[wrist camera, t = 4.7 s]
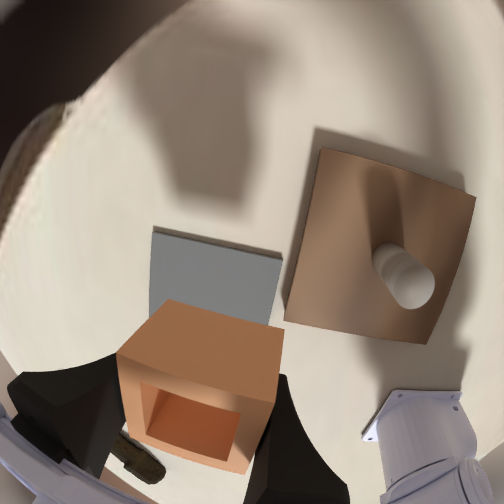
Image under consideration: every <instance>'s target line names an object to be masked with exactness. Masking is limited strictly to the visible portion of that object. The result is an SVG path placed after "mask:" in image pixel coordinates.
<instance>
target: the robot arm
mask: <svg viewBox="0 0 504 504" xmlns="http://www.w3.org/2000/svg"><path fill="white" fill-rule="evenodd" d="M7 390H8V393H9V396H10V398H11V400H12V402H13V404H14V406H15V408H16V410H17V411H18V414H17V415H16V416H15V417H14V418H12V417H11V416H10V415H8V414H7V413H6V410H5V408H4V406H3V405H2V403H1V402H0V463H2V465H3V466H4V467H5V468H6V469H7V470H9V472H11V473H12V474H13V475H14V476H15V477H16V478H17V479H18V480H19V481H20V482H21V483H23V484H24V485H25V486H26V487H27V488H28V489H30V490H31V491H32V492H33V493H34V494H36V495H37V498H36V499H35V500H34V501H33V503H32V504H150V503H147V502H145V501H142V500H140V499H138V498H136V497H133V496H131V495H129V494H127V493H125V492H122V491H120V490H118V489H116V488H114V487H112V486H110V485H108V484H106V483H105V482H103V481H101V480H99V478H100V476H101V473H102V470H103V468H104V465H105V463H106V460H107V458H108V456H109V454H110V451H111V449H112V447H113V445H114V443H115V441H116V439H117V437H118V435H119V433H120V431H121V429H122V427H123V425H124V424H125V422H126V417H125V412H124V406H123V401H122V395H121V388H120V382H119V375H118V367H117V359H116V353H114V354H111V355H109V356H107V357H104V358H102V359H100V360H97V361H94V362H91V363H88V364H85V365H82V366H78V367H73V368H68V369H64V370H57V371H47V372H22V373H21V374H20V375H19V376H17V377H16V378H15V379H14V380H13V381H12V382H10V383H9V384H8V386H7ZM461 396H462V392H461V391H415V390H394V391H392V392H391V394H390V395H389V397H388V399H387V400H386V402H385V403H384V405H383V406H382V408H381V410H380V411H379V413H378V414H377V416H376V417H375V419H374V420H373V421H372V423H371V424H370V426H369V427H368V429H367V430H366V431H365V433H364V434H363V436H362V441H378V442H379V447H380V453H381V459H382V465H383V471H384V478H385V484H386V493H384V494H383V495H381V496H380V503H381V504H494V501H493V494H492V490H491V486H490V483H489V480H488V478H487V476H486V473H485V471H484V470H483V468H482V466H481V465H480V463H479V462H478V461H477V460H476V459H474V458H475V455H476V451H477V438H476V435H475V432H474V430H473V428H472V426H471V424H470V422H469V420H468V418H467V416H466V414H465V412H464V410H463V408H462V406H461V404H460V402H459V399H460V398H461ZM243 504H350V496H349V492H348V487H347V484H345V483H344V482H343V481H342V480H341V479H340V478H339V477H338V476H337V475H336V474H335V473H334V472H333V471H332V470H331V469H330V467H329V466H328V465H327V464H326V463H325V461H324V460H323V459H322V457H321V456H320V455H319V453H318V452H317V451H316V449H315V448H314V446H313V444H312V443H311V441H310V439H309V438H308V436H307V434H306V432H305V430H304V428H303V426H302V424H301V422H300V420H299V417H298V415H297V412H296V409H295V407H294V404H293V401H292V398H291V394H290V390H289V386H288V381H287V377H286V375H284V374H279V378H278V385H277V393H276V400H275V404H274V407H273V409H272V412H271V415H270V417H269V420H268V422H267V424H266V427H265V429H264V432H263V434H262V437H261V439H260V441H259V444H258V446H257V448H256V451H255V457H254V463H253V467H252V472H251V476H250V480H249V484H248V488H247V492H246V495H245V499H244V503H243Z"/></svg>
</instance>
